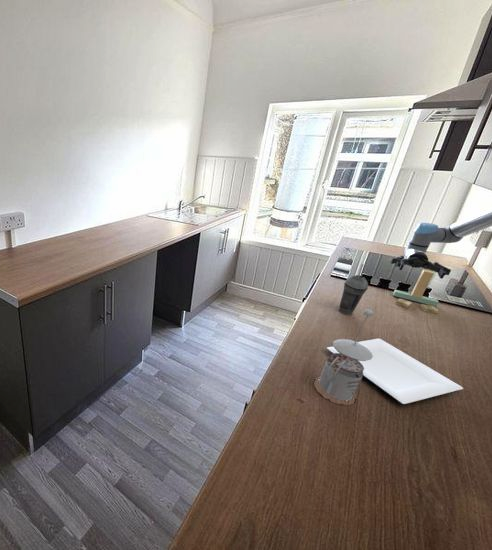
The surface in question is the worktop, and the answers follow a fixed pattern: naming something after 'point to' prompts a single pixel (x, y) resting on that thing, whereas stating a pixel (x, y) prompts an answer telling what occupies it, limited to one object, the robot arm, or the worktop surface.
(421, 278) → the wiper
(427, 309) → the crust
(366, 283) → the beverage cup
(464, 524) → the worktop surface
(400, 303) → the crust
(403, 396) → the plate
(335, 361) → the french press
